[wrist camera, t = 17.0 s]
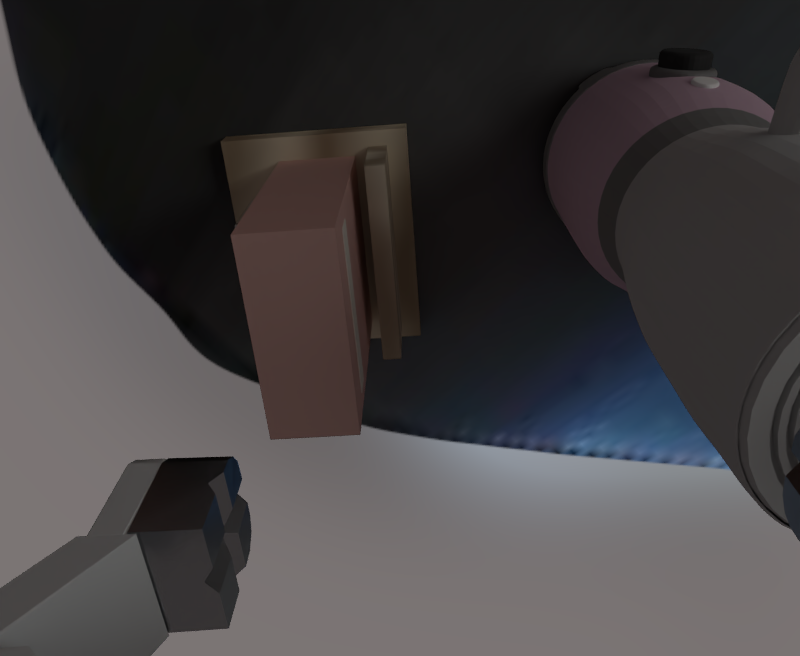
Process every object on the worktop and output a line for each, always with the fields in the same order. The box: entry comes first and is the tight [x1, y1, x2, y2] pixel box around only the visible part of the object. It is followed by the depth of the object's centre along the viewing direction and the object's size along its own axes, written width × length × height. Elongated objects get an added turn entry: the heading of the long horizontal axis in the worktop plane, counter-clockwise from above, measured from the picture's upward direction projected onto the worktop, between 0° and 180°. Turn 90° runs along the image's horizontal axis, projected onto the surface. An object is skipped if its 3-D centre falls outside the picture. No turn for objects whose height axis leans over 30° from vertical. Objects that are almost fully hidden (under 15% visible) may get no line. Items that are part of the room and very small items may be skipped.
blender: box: [543, 48, 800, 529], centre depth 32 cm, size 16×12×32 cm
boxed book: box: [231, 156, 372, 440], centre depth 43 cm, size 5×12×14 cm, turn 4°
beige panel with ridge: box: [221, 123, 421, 360], centre depth 47 cm, size 12×15×6 cm
